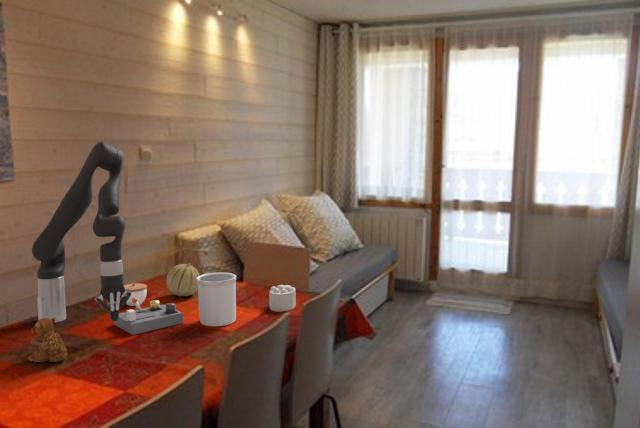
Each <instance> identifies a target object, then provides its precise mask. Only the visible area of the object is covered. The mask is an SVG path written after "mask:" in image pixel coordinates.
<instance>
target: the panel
mask: <svg viewBox="0 0 640 428" xmlns="http://www.w3.org/2000/svg"><path fill="white" fill-rule="evenodd" d="M133 310H134V309H133ZM134 311H135V312H136V320H135V321H131V322H130V321H129V320H127V311H126V312H121V313H120V312H119V318H118V319H117V321H114V325H115V326H116V327H117V328H120V329H121V330H123V331H125V332H127V333H129V334H130V335H131V336H134V335H138V334H144V333H147V332H151V331H156V330H159V329H164V328H169V327H173V326H177V325H181V324H184V313H183V311H179V310H177V309H175V312H174V313H166V306H165V304H160V309H158V310H150V306H149V307H145V308H141V311H138V309H135V310H134Z"/></svg>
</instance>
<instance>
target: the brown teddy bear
mask: <svg viewBox="0 0 640 428" xmlns="http://www.w3.org/2000/svg"><path fill="white" fill-rule="evenodd" d="M55 321H56V318H52V319H50V318H42V319H40V320H39V319H38V320H37V321H36V323H35V325H33V327H32V328H31V330H30V332H31V333H34V329H35V332H36V334H37V337H35V338H32V339H31V340H30V344H31V345H32V346H33V347H34V346H35V347H36V346H37V347H38V348H37V349H36V350H35V351H34V352H33V354H31V355H29V356H28V357H27V360H28V361H30V362H32V361H34V362H33V363H36V362H40V363H46V361H48V362H50V363H52V362H54V363H55V362H56V363H58V362H63V361H64V360H66V359H67V357H68V350H67V347H66V345H65V343H64V340H63V338H61V337H60V336H61V334H60V333H58V332H56V331H55V328H54V324H55V323H56V322H55ZM56 363H55V364H56Z"/></svg>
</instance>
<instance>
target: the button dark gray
mask: <svg viewBox="0 0 640 428" xmlns="http://www.w3.org/2000/svg"><path fill="white" fill-rule="evenodd" d="M164 305H165V306H166V313H174V312H175V310H176V303H175V302H168V303H165V304H164Z"/></svg>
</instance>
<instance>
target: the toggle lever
mask: <svg viewBox="0 0 640 428" xmlns="http://www.w3.org/2000/svg"><path fill="white" fill-rule="evenodd" d="M132 302H133V303H134V304H135V305H136V306H135V307H136V310H138V311H141V309H142V308H141V305H139V304H138V302H137V298H133V299H132Z"/></svg>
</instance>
